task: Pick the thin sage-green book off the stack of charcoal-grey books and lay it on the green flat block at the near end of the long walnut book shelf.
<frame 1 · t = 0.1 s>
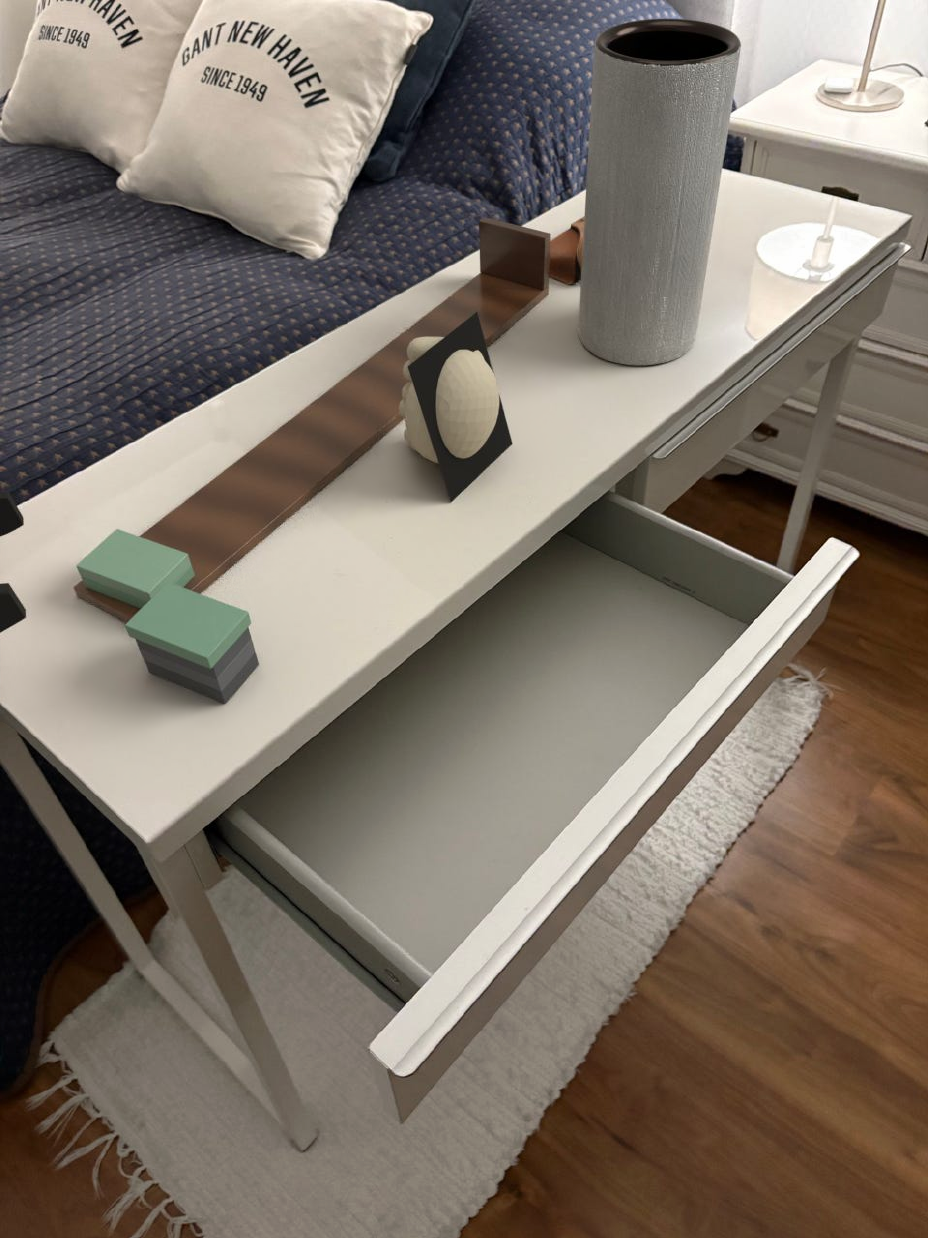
hand: (16, 552, 51), 20 cm above the table, tool horizontal, fingers open, 7 cm apart
sunglasses case: (594, 250, 115), on the table
sage book: (190, 629, 68), point 4 cm above the table, touching grey books
decorative object: (446, 459, 88), on the table
planter: (635, 337, 102), on the table
book ledge: (509, 290, 109), on the table
green flat block: (140, 581, 77), point 1 cm above the table, touching book ledge
grey books: (204, 668, 71), on the table, touching sage book
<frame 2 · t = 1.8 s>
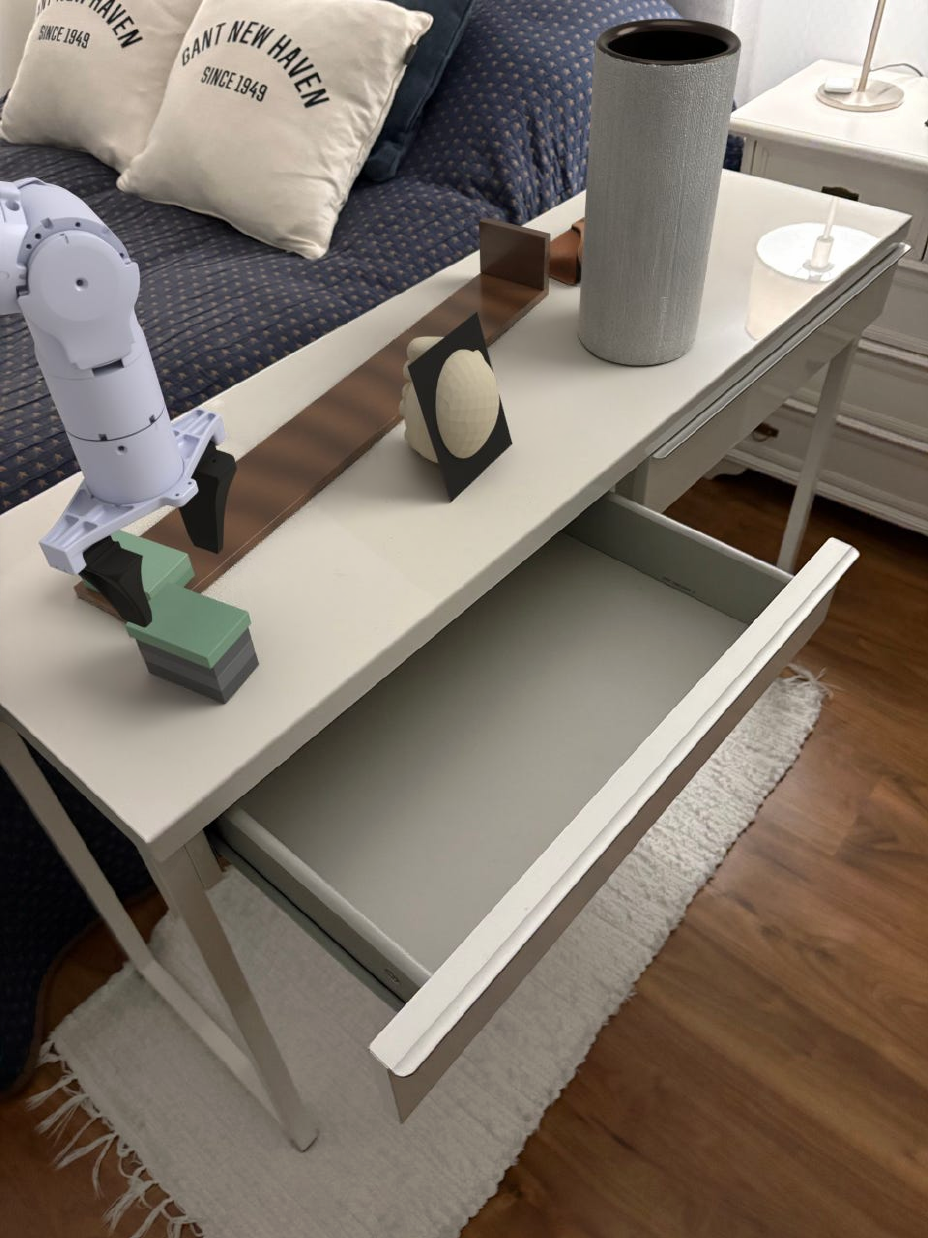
hand: (174, 582, 65), 9 cm above the table, tool pointing down, fingers open, 7 cm apart
nothing on the table moved.
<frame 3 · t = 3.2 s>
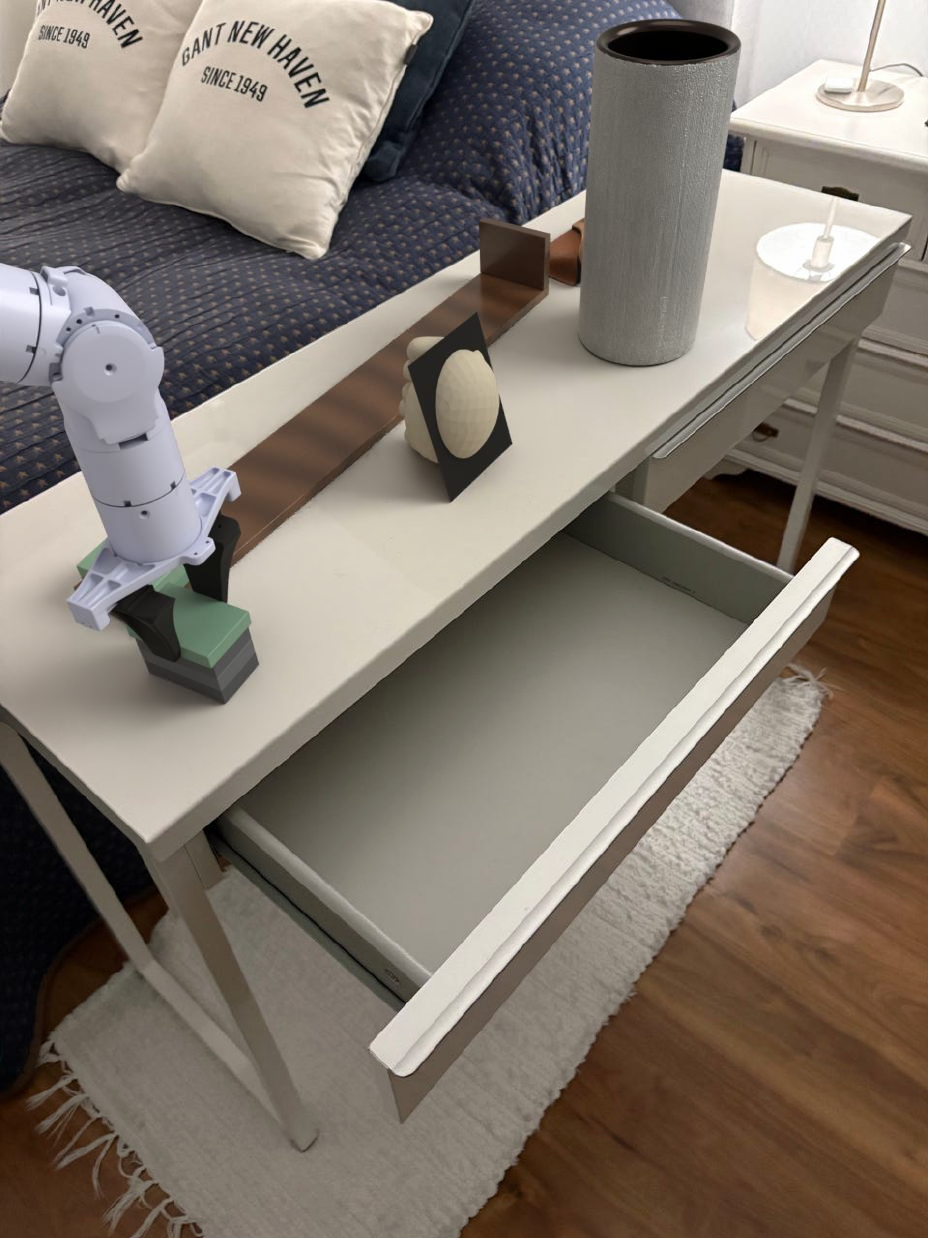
hand: (190, 629, 68), 4 cm above the table, tool pointing down, fingers closed on sage book, 5 cm apart
sage book: (191, 629, 68), point 4 cm above the table, touching grey books, gripper
everything else where it was.
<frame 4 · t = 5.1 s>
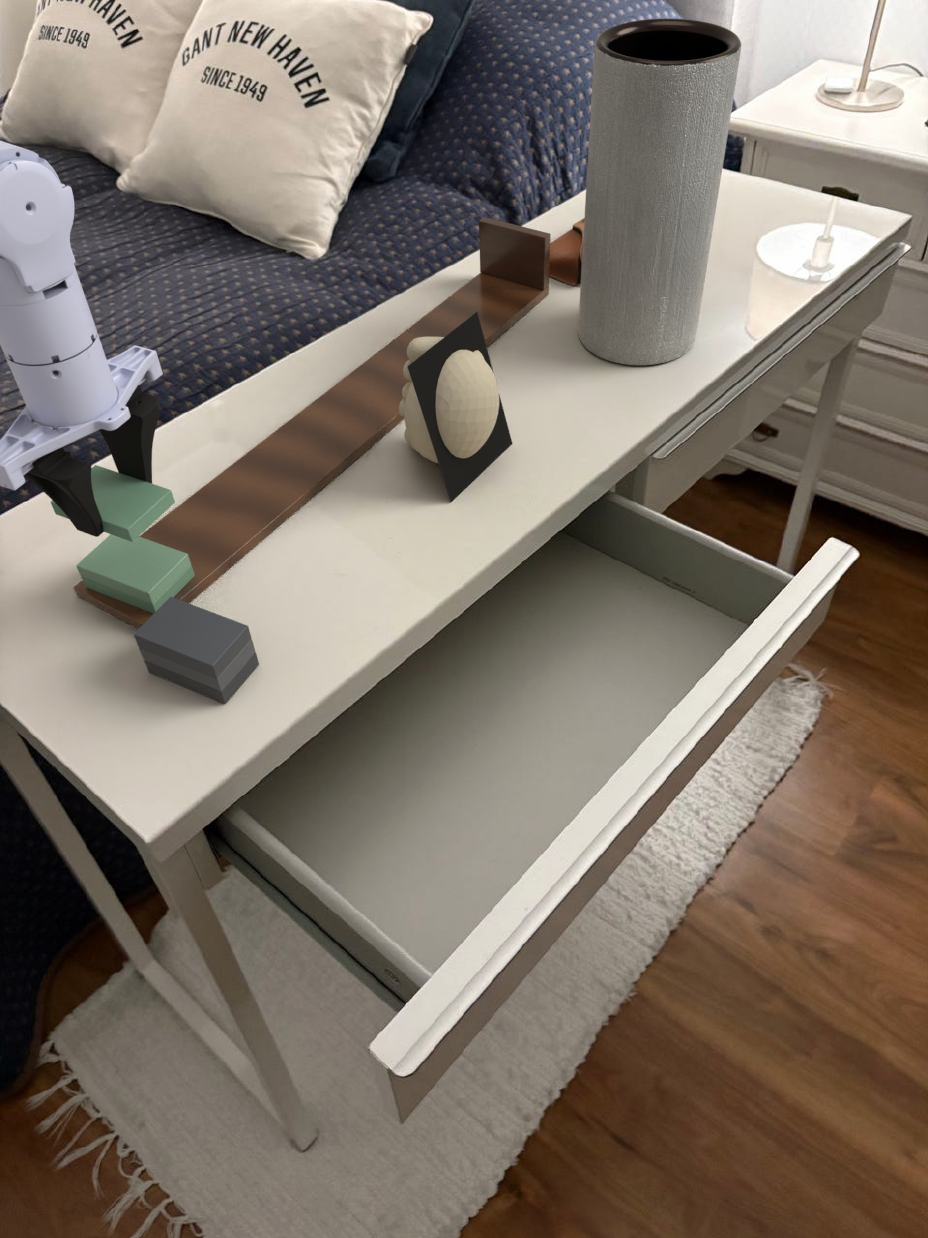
hand: (115, 508, 70), 9 cm above the table, tool pointing down, fingers closed on sage book, 5 cm apart
sage book: (115, 508, 70), point 9 cm above the table, touching gripper
grey books: (204, 668, 71), on the table
everything else where it was.
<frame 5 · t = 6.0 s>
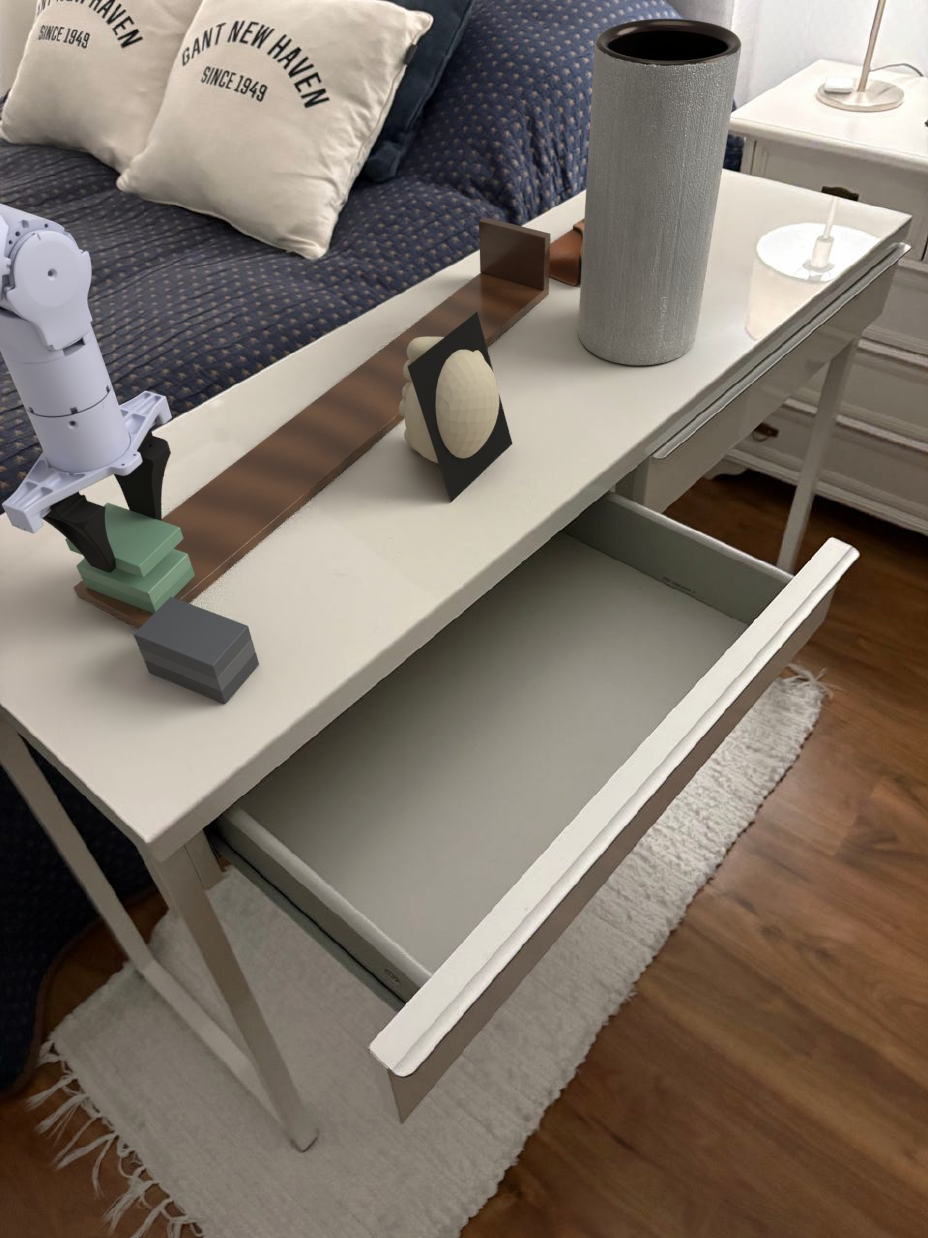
hand: (126, 545, 74), 5 cm above the table, tool pointing down, fingers closed on sage book, 5 cm apart
sage book: (127, 544, 74), point 5 cm above the table, touching gripper
everything else where it was.
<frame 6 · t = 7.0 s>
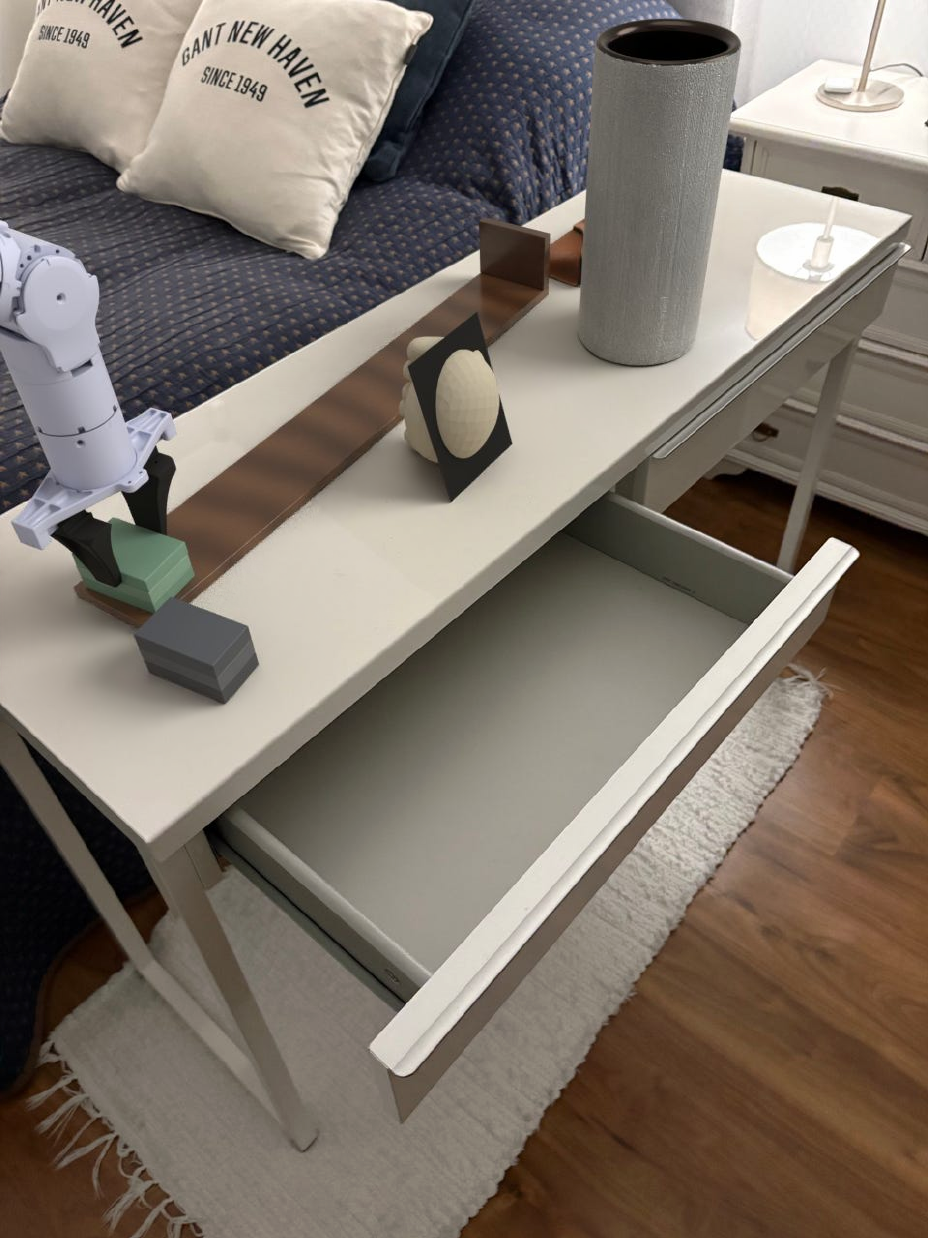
hand: (132, 559, 75), 3 cm above the table, tool pointing down, fingers closed on sage book, 5 cm apart
sage book: (132, 559, 75), point 3 cm above the table, touching gripper, green flat block
green flat block: (140, 581, 77), point 1 cm above the table, touching book ledge, gripper, sage book
everything else where it was.
when the fingers open (3 cm above the table, at t = 7.1 s): sage book stays where it is, resting on green flat block.
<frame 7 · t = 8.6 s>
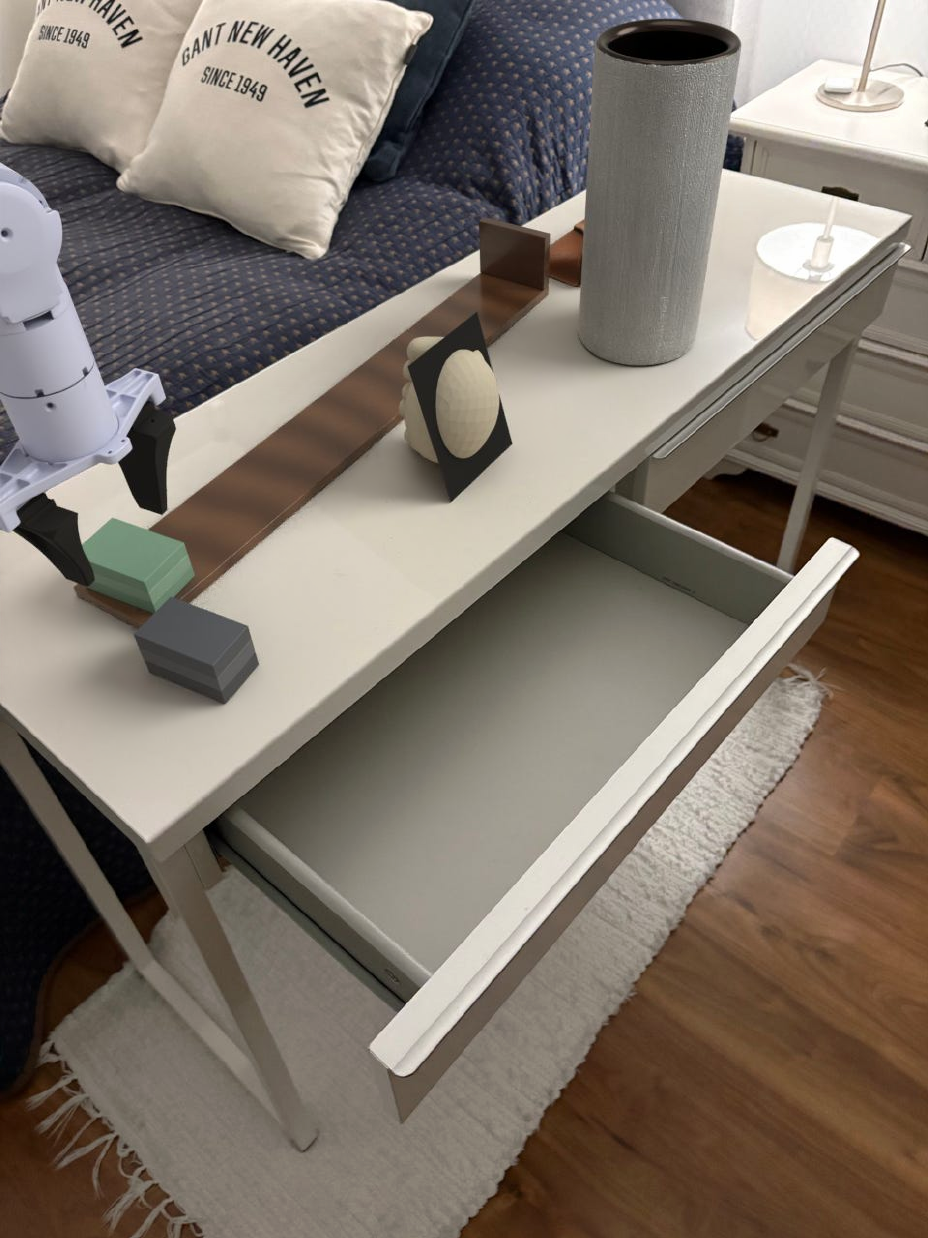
hand: (118, 542, 66), 10 cm above the table, tool pointing down, fingers open, 7 cm apart
sage book: (131, 559, 75), point 3 cm above the table, touching green flat block
green flat block: (140, 581, 77), point 1 cm above the table, touching book ledge, sage book
everything else where it was.
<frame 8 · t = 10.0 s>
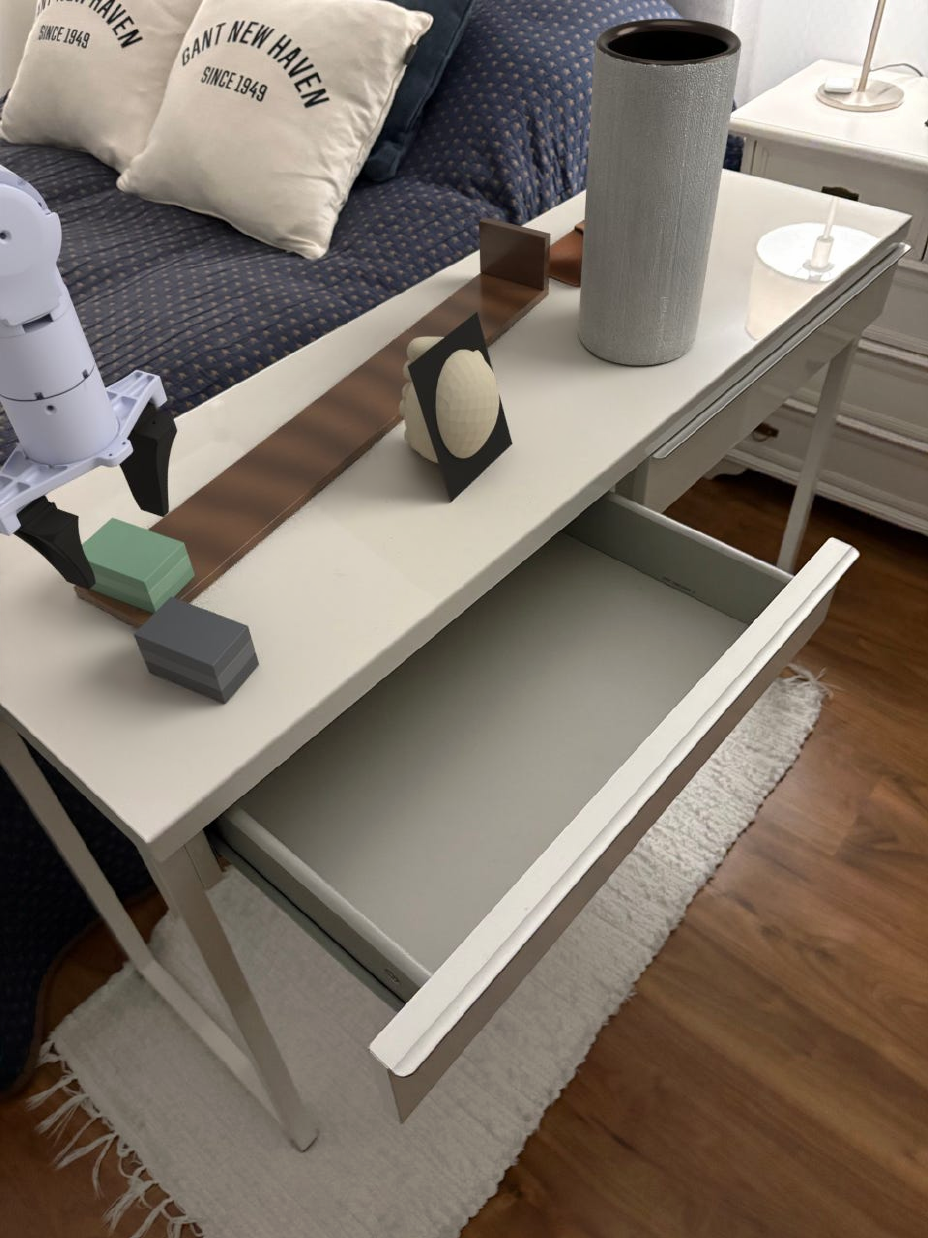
hand: (119, 545, 65), 10 cm above the table, tool pointing down, fingers open, 7 cm apart
nothing on the table moved.
at the end: sage book 0.0 cm from the target spot on the book ledge, point 3.4 cm above the book ledge's base; sage book tilted 0°; the gripper is holding nothing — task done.
